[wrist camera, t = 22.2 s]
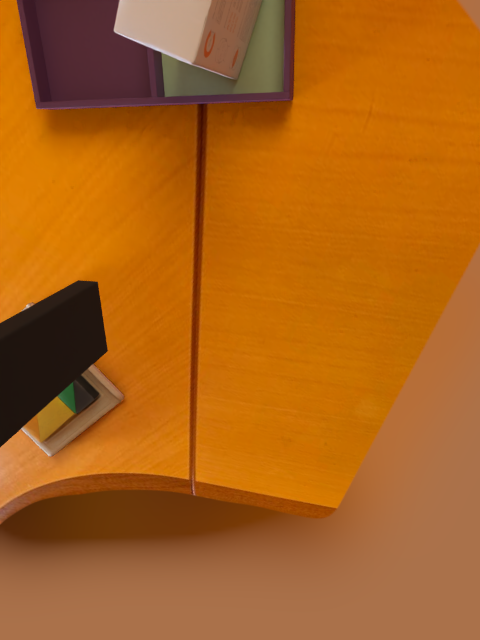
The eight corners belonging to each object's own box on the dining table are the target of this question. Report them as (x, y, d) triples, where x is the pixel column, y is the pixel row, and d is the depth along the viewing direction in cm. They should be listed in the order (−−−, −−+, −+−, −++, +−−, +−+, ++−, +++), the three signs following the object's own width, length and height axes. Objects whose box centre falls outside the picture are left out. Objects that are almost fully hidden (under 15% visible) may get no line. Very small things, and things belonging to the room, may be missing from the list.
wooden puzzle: (131, 392, 61) (119, 407, 57) (54, 452, 69) (40, 468, 65) (37, 296, 58) (19, 306, 55) (-32, 370, 66) (-51, 382, 63)
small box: (201, -45, 39) (138, -117, 27) (269, -18, 39) (234, -80, 27) (176, 57, 43) (110, 32, 31) (237, 82, 42) (194, 66, 31)
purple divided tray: (25, -44, 43) (6, -54, 40) (296, -77, 37) (293, -90, 35) (51, 109, 48) (36, 108, 46) (293, 100, 42) (289, 98, 40)
